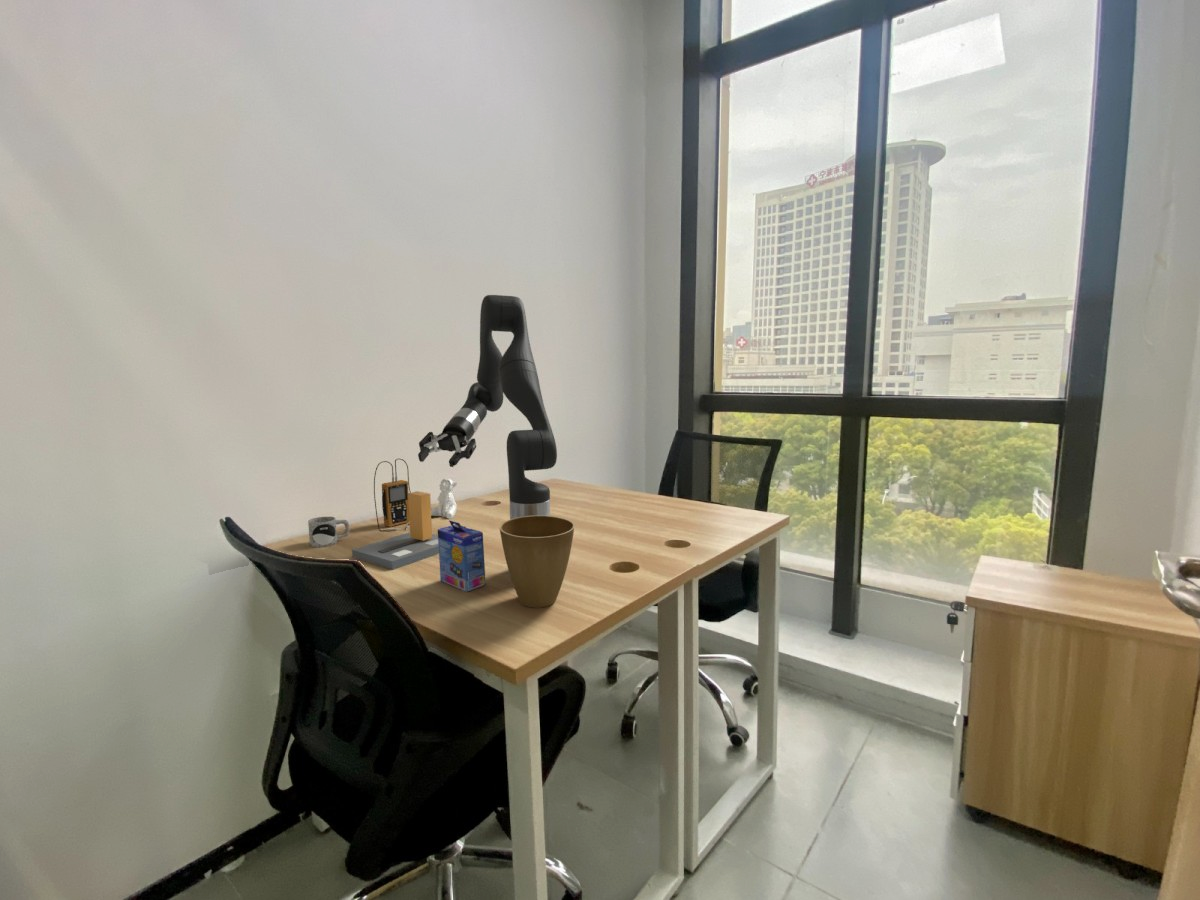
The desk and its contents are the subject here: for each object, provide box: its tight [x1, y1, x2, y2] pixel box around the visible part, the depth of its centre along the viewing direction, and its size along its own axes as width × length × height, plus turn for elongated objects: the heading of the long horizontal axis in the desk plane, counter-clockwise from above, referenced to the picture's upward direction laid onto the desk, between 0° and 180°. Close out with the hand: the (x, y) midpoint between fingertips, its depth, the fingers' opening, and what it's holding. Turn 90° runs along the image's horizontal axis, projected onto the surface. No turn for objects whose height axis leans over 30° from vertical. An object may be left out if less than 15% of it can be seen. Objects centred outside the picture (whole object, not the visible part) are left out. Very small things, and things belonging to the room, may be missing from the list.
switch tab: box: [408, 491, 433, 541], centre depth 147 cm, size 5×3×12 cm, turn 57°
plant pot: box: [499, 515, 575, 608], centre depth 113 cm, size 15×15×16 cm
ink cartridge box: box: [437, 519, 487, 593], centre depth 122 cm, size 10×6×14 cm, turn 51°
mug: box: [307, 516, 350, 548], centre depth 152 cm, size 10×7×7 cm, turn 126°
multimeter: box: [373, 458, 412, 532], centre depth 166 cm, size 15×10×20 cm
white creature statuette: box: [431, 477, 458, 520], centre depth 180 cm, size 10×9×12 cm
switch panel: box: [351, 531, 439, 570], centre depth 144 cm, size 16×20×2 cm
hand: (435, 461), depth 144 cm, fingers open, 8 cm apart
